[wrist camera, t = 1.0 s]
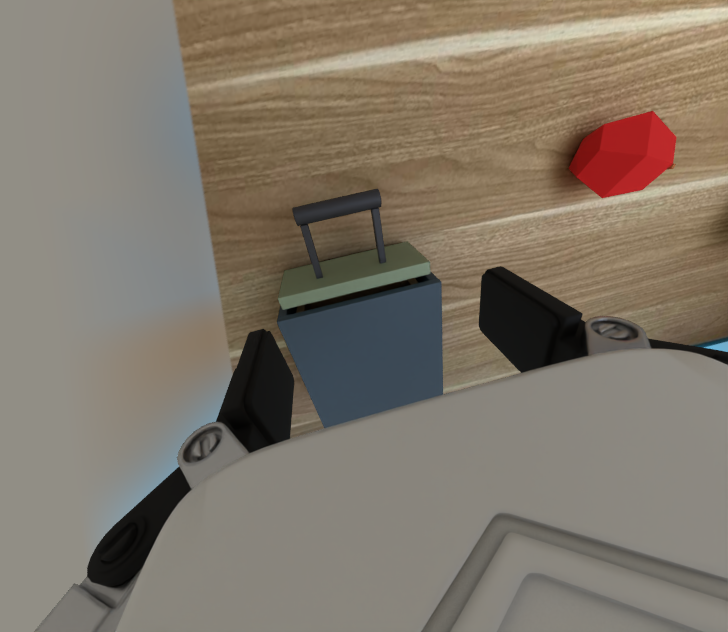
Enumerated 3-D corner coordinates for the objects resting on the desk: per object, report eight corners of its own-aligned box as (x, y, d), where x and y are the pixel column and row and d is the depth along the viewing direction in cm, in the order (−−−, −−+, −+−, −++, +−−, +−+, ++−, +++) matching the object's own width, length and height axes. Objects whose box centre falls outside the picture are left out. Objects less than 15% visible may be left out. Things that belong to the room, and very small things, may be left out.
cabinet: (284, 282, 29) (276, 322, 22) (411, 252, 29) (441, 281, 22) (324, 383, 38) (326, 433, 31) (419, 358, 38) (443, 402, 31)
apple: (584, 183, 23) (679, 202, 22) (624, 91, 21) (731, 110, 20) (544, 195, 29) (616, 211, 29) (571, 127, 27) (650, 142, 27)
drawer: (260, 208, 23) (245, 223, 18) (401, 176, 24) (427, 182, 19) (323, 373, 35) (325, 411, 30) (416, 349, 36) (435, 382, 31)
